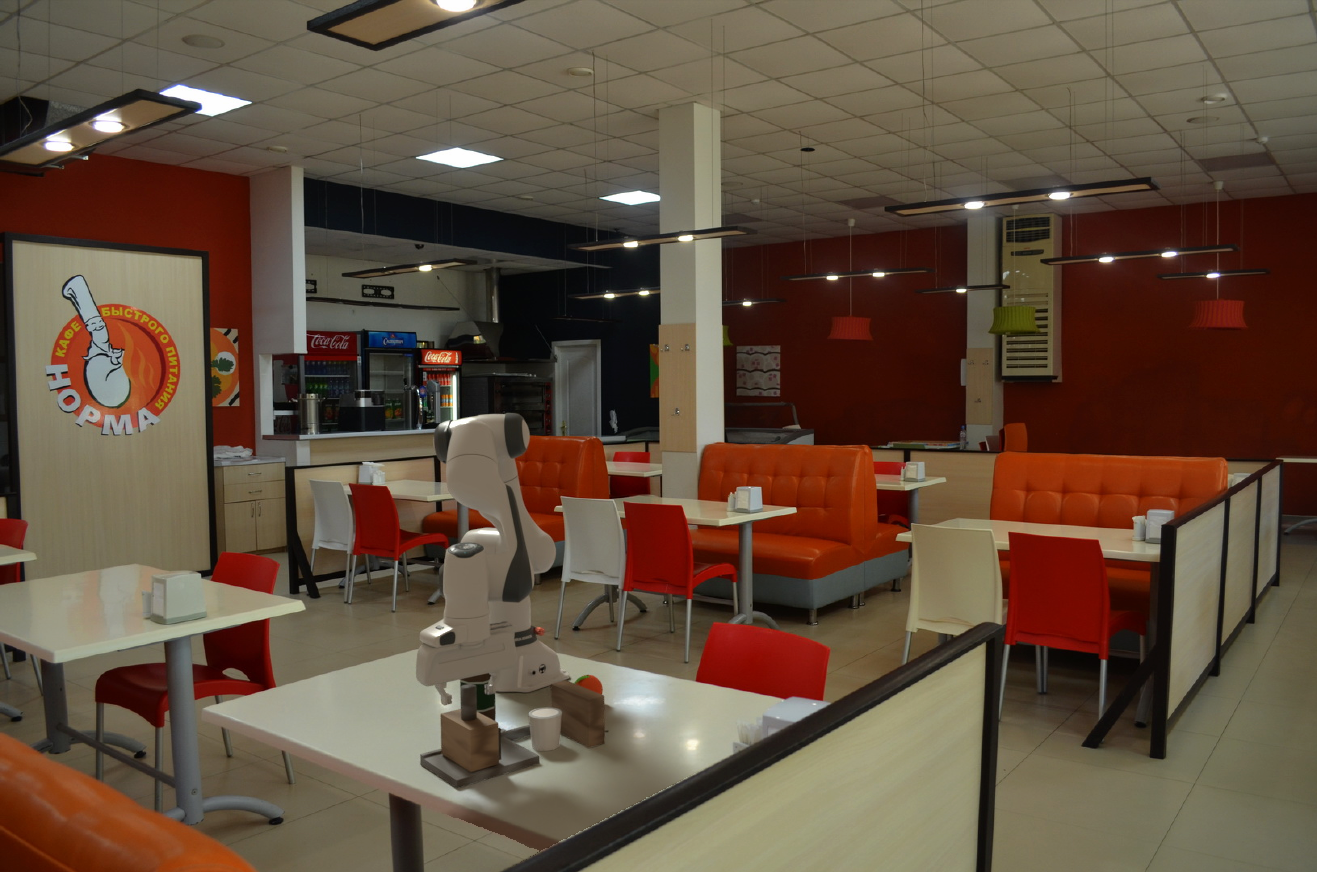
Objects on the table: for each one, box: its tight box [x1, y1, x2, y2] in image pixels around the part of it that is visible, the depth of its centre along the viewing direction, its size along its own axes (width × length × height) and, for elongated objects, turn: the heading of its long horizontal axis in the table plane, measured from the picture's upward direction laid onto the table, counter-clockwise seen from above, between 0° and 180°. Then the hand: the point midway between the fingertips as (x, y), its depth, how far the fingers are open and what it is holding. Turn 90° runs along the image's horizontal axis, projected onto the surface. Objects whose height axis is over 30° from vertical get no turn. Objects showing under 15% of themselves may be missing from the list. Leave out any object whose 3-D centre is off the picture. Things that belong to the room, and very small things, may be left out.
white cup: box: [528, 706, 562, 752], centre depth 195 cm, size 7×7×7 cm
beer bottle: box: [459, 673, 497, 721], centre depth 206 cm, size 8×8×24 cm
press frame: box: [419, 679, 606, 789], centre depth 191 cm, size 34×15×10 cm, turn 130°
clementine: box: [573, 674, 604, 695], centre depth 220 cm, size 8×7×7 cm
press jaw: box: [440, 684, 502, 772], centre depth 184 cm, size 7×12×14 cm, turn 40°
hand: (468, 698), depth 183 cm, fingers open, 8 cm apart
